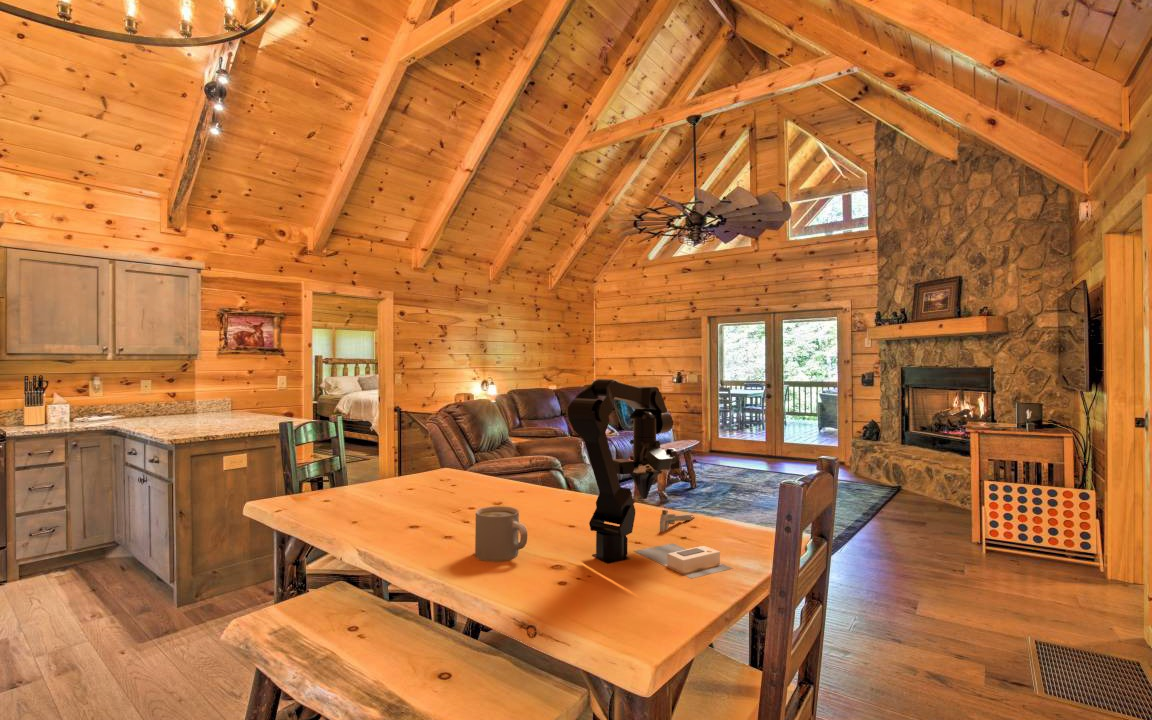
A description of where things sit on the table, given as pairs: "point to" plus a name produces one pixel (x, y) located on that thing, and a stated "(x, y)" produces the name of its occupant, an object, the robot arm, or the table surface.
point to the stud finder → (693, 558)
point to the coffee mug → (498, 533)
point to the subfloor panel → (660, 557)
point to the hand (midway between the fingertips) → (644, 498)
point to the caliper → (671, 519)
